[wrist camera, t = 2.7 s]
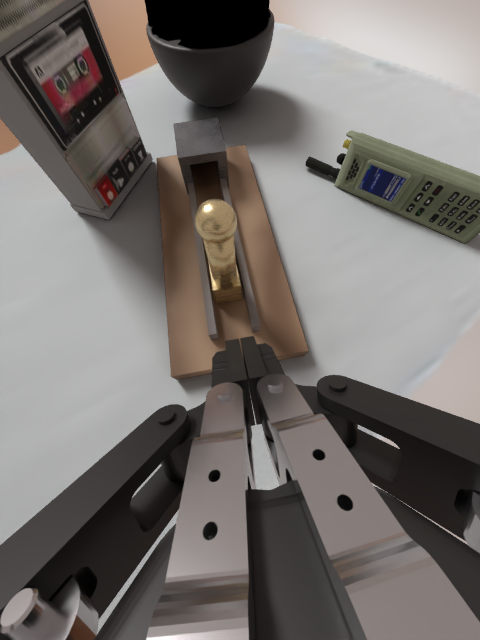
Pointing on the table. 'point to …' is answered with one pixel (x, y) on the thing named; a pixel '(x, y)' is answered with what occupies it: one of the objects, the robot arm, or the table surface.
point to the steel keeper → (200, 147)
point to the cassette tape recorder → (68, 102)
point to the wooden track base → (194, 273)
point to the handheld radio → (408, 185)
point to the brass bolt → (220, 247)
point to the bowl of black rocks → (210, 45)
